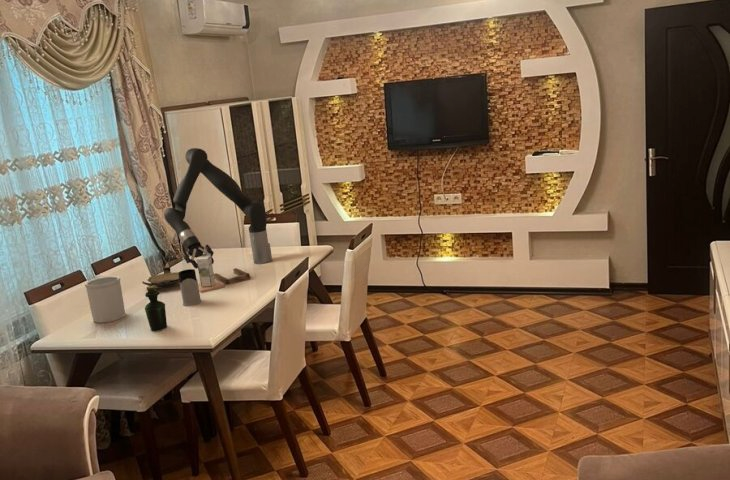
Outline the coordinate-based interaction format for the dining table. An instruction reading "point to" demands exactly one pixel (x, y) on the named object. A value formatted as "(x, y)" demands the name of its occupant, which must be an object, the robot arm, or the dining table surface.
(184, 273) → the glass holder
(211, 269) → the syrup box
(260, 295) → the dining table surface
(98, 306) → the utensil holder
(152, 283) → the oil lamp
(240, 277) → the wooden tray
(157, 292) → the potion bottle
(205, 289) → the terracotta pad
